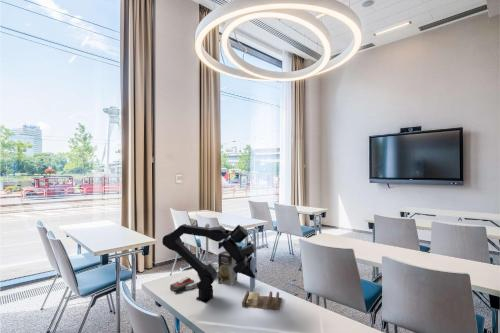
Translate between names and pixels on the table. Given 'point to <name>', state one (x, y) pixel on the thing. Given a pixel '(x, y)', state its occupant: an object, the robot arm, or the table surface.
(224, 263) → the coffee box
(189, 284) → the walkie-talkie
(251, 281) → the board
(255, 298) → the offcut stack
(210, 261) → the flag stand
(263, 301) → the rack
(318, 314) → the table surface
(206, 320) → the table surface
